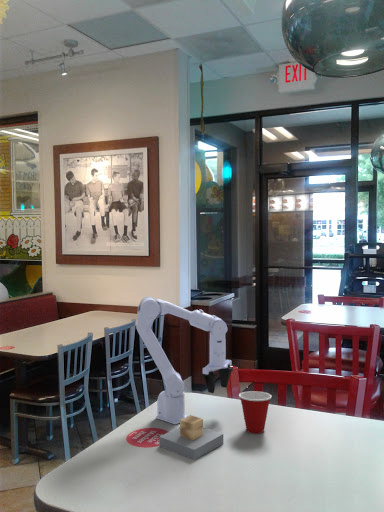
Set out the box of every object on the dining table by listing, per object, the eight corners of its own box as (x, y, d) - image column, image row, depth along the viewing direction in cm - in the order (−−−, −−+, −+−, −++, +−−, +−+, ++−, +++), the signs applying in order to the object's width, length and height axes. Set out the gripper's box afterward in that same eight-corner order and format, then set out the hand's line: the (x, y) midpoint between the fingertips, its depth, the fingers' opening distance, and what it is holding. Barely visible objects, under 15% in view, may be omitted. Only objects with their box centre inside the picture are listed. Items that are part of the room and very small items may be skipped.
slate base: (159, 446, 145) (159, 436, 145) (189, 431, 156) (188, 422, 156) (194, 460, 136) (194, 449, 136) (223, 443, 147) (223, 433, 147)
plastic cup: (270, 423, 162) (270, 389, 161) (272, 437, 151) (272, 400, 150) (238, 422, 163) (238, 388, 162) (238, 436, 152) (238, 399, 151)
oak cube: (180, 435, 145) (180, 419, 145) (190, 430, 149) (190, 415, 149) (192, 440, 142) (192, 424, 142) (203, 434, 146) (203, 419, 146)
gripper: (214, 357, 160) (214, 397, 161) (238, 349, 171) (238, 386, 172) (197, 354, 165) (198, 393, 165) (222, 346, 176) (222, 383, 176)
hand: (217, 389), depth 169 cm, fingers open, 7 cm apart
